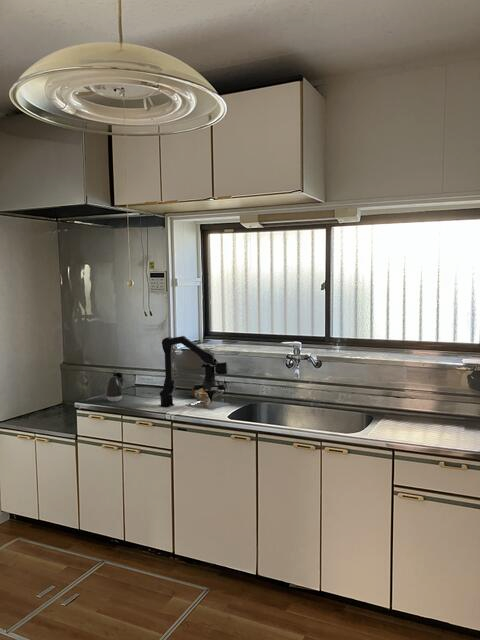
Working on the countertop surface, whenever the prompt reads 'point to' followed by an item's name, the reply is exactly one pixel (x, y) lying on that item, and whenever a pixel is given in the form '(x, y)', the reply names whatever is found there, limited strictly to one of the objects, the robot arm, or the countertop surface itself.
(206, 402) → the fence gate
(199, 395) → the fence fixed
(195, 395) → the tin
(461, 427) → the countertop surface
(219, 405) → the card
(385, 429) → the countertop surface
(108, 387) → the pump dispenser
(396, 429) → the countertop surface
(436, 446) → the countertop surface
